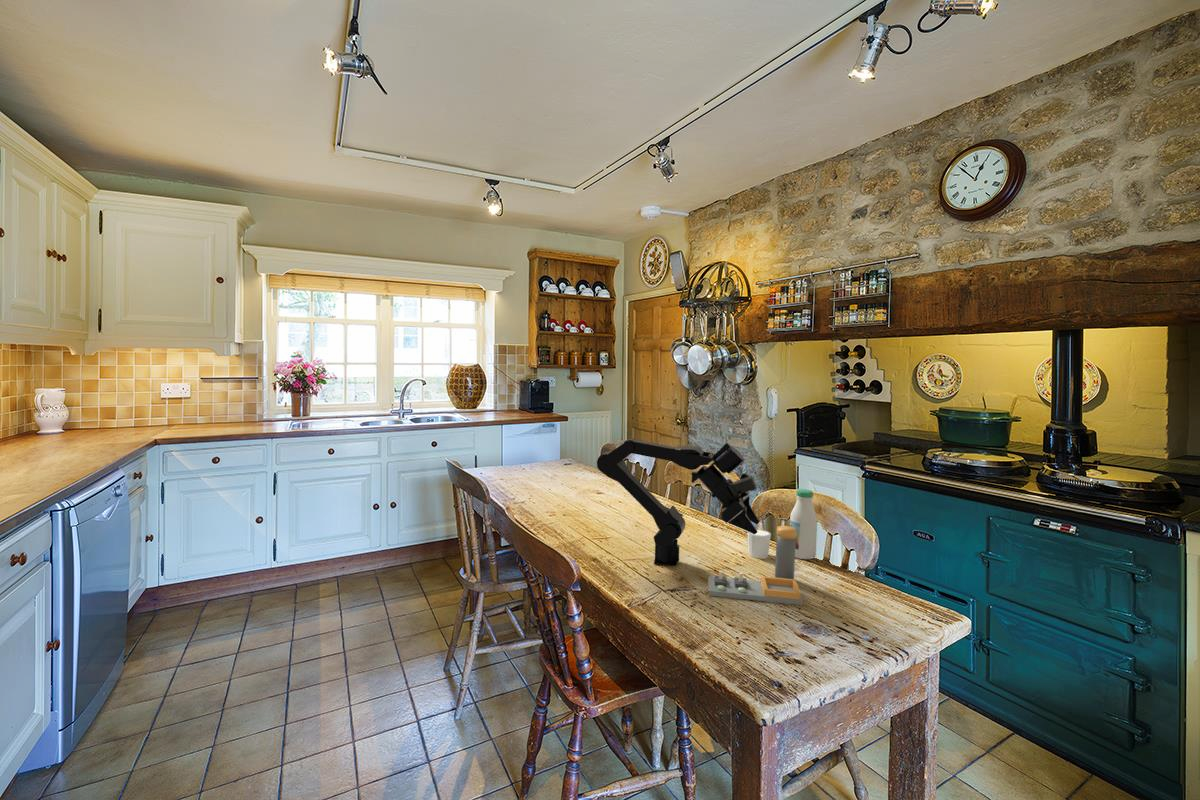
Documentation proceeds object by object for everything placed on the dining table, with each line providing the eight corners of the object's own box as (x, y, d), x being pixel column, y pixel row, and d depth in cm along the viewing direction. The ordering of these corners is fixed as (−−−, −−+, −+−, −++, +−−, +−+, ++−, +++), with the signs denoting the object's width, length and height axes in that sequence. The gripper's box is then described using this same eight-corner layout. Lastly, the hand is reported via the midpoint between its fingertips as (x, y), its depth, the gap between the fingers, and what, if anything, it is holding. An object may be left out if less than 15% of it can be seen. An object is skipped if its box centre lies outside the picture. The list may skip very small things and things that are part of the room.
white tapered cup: (771, 560, 151) (772, 537, 150) (747, 558, 152) (748, 535, 152) (768, 552, 158) (769, 529, 157) (745, 550, 159) (746, 528, 159)
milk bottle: (814, 552, 158) (817, 488, 156) (816, 561, 150) (819, 494, 149) (788, 549, 160) (790, 486, 159) (788, 558, 153) (791, 492, 152)
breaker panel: (708, 595, 127) (709, 579, 127) (708, 580, 136) (708, 565, 136) (802, 605, 123) (803, 588, 123) (795, 589, 132) (796, 573, 131)
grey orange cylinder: (776, 582, 136) (778, 530, 134) (773, 575, 140) (775, 525, 139) (795, 584, 135) (797, 532, 134) (792, 576, 139) (794, 526, 138)
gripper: (735, 472, 131) (779, 519, 128) (742, 459, 148) (780, 501, 145) (703, 499, 134) (745, 546, 131) (713, 483, 152) (751, 525, 149)
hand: (757, 528), depth 139 cm, fingers open, 9 cm apart
